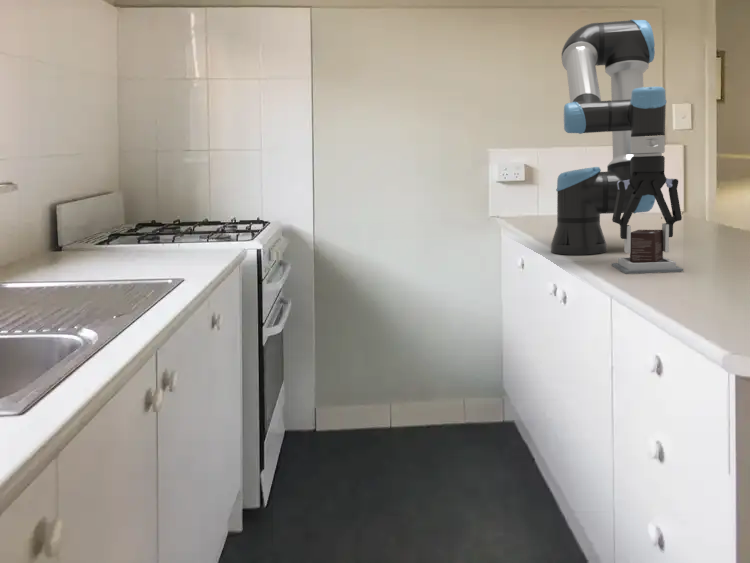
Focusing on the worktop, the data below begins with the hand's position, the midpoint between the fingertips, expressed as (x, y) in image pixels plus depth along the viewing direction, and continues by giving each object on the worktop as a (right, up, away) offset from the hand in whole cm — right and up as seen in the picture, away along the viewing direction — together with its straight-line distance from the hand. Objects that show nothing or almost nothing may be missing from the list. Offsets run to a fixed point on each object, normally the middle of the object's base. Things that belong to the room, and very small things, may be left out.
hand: (646, 251), depth 182 cm
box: (0, -3, 0) cm, 3 cm away
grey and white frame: (0, -4, +1) cm, 4 cm away
